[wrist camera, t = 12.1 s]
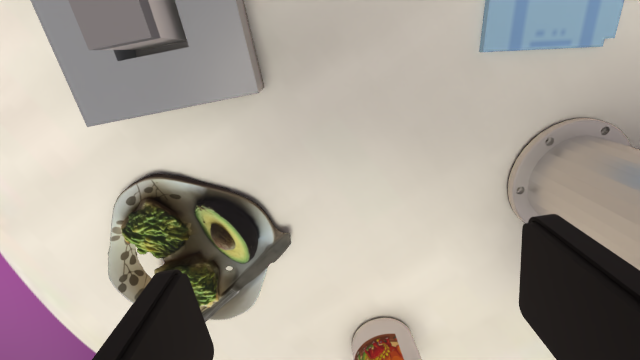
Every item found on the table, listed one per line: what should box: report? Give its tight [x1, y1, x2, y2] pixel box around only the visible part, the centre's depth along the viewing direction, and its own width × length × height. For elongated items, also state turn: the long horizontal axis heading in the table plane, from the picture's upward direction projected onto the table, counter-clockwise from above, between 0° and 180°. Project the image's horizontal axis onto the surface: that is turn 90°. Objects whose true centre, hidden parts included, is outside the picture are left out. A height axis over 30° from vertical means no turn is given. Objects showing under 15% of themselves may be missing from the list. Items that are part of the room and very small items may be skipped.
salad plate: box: [108, 174, 291, 322], centre depth 36 cm, size 19×18×5 cm
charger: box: [68, 0, 187, 50], centre depth 24 cm, size 4×4×8 cm
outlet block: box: [31, 0, 264, 127], centre depth 27 cm, size 14×14×4 cm
